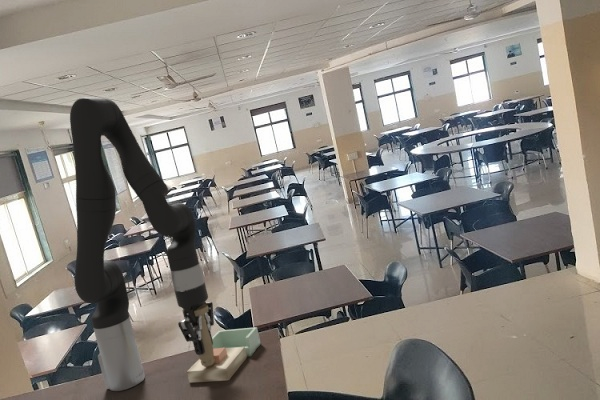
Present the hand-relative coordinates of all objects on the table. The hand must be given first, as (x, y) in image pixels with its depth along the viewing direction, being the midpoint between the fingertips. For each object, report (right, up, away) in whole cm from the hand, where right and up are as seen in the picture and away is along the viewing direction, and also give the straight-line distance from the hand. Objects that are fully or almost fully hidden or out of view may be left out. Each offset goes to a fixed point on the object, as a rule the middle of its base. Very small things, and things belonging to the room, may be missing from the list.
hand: (204, 349), depth 128 cm
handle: (+1, -4, 0) cm, 4 cm away
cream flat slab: (+3, -7, +5) cm, 9 cm away
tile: (+2, -4, +4) cm, 6 cm away
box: (+6, -5, +14) cm, 16 cm away
